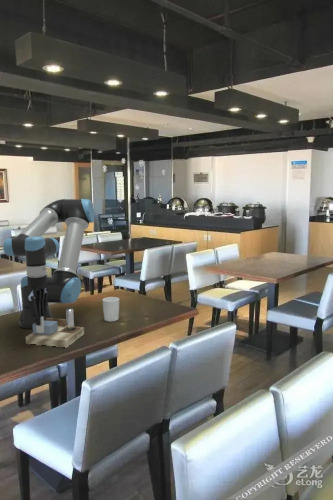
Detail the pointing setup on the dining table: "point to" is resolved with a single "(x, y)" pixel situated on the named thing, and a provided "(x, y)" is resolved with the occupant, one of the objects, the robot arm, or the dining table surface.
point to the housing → (47, 327)
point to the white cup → (111, 308)
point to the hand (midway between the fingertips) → (40, 332)
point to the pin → (70, 319)
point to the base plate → (56, 335)
